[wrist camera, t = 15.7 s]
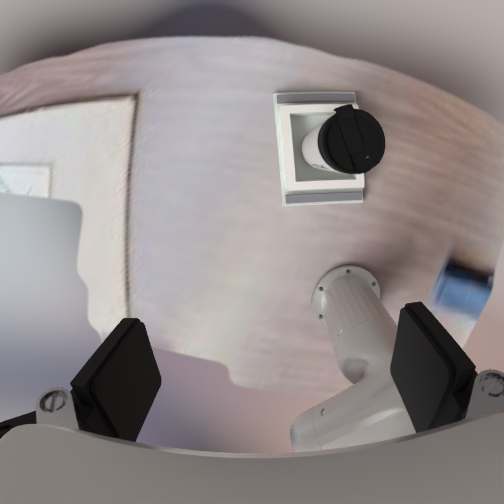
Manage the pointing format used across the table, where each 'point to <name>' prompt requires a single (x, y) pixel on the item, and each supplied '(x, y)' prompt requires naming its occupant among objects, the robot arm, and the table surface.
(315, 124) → the white rectangular tray
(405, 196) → the table surface
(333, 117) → the travel mug
